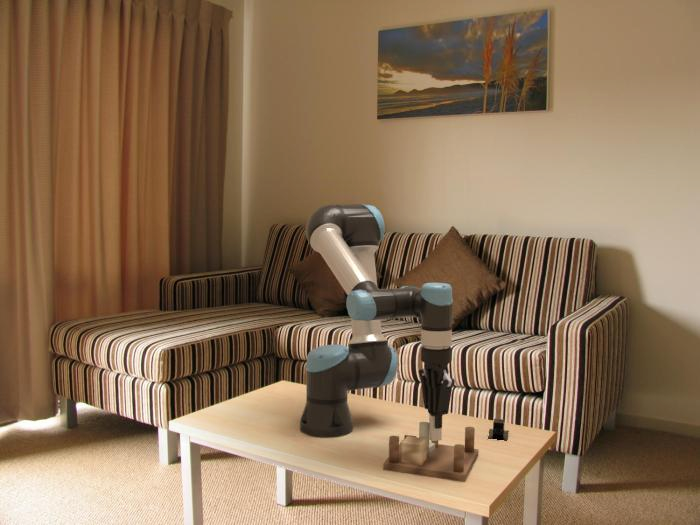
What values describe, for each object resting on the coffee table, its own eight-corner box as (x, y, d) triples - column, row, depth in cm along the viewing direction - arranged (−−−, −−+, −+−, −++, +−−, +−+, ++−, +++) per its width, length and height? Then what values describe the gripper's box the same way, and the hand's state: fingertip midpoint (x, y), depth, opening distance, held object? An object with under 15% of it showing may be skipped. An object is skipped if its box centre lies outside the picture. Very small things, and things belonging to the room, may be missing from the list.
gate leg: (426, 456, 177) (427, 425, 176) (416, 454, 178) (417, 423, 177) (436, 449, 183) (437, 418, 182) (427, 447, 184) (428, 417, 183)
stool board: (383, 469, 173) (383, 439, 172) (403, 445, 190) (403, 417, 189) (465, 481, 166) (466, 450, 165) (478, 455, 183) (479, 426, 182)
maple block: (401, 462, 173) (402, 442, 173) (406, 455, 178) (407, 436, 178) (421, 465, 172) (422, 445, 171) (426, 458, 176) (426, 438, 176)
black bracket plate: (510, 445, 193) (510, 428, 192) (482, 442, 195) (483, 426, 194) (512, 431, 205) (512, 415, 204) (486, 428, 206) (487, 413, 206)
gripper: (464, 349, 171) (463, 445, 172) (435, 340, 182) (434, 430, 184) (437, 352, 167) (436, 450, 169) (410, 342, 179) (409, 434, 181)
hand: (435, 439), depth 177 cm, fingers closed
